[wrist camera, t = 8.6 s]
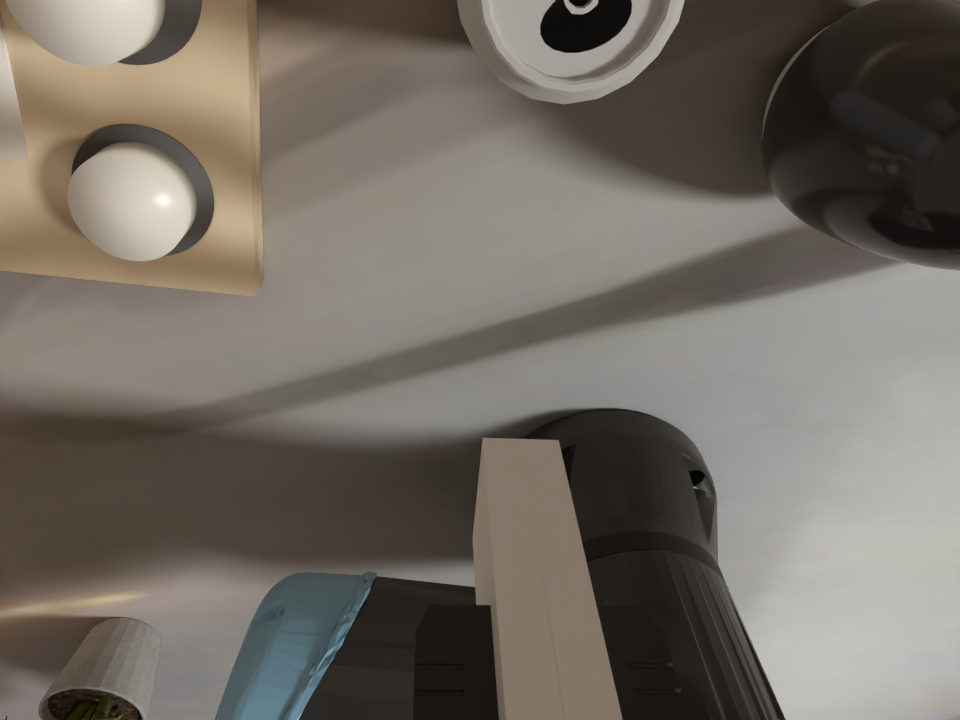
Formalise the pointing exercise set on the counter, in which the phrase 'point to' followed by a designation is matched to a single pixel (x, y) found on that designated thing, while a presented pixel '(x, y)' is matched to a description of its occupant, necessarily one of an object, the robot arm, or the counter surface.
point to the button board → (146, 119)
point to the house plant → (107, 675)
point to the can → (568, 43)
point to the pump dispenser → (874, 131)
